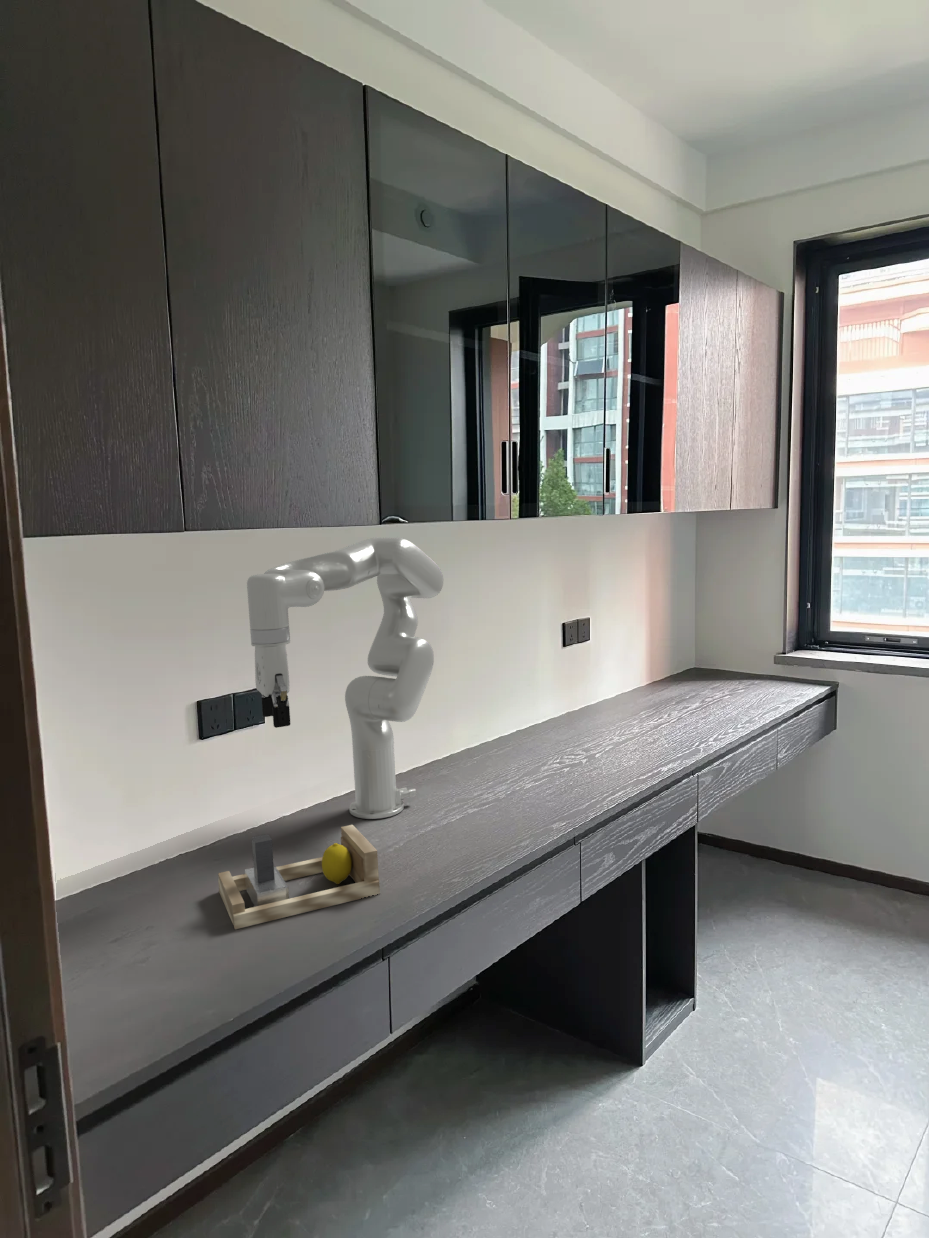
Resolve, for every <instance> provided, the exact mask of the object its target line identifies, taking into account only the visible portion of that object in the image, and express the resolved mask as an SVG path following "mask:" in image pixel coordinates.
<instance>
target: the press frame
mask: <svg viewBox="0 0 929 1238" xmlns="http://www.w3.org/2000/svg"><path fill="white" fill-rule="evenodd" d="M340 834H341V836H340V845H343V846H344V847H346V848H347V850H348V851H349V853H350V856H351V861H352V867H351V872H350V874H349V876H350V877H351V879H352V880H353V881H354V882H355V883H350V884H346V885H341V886H338V887H337V886H336V887H333V888H329V889H325V890H324V889H323V890H320V891H317V892H316V891H315V892H312V893H307V894H304V895H300V896H295V897H289V899H286V900H282V901H277V902H273V903H269V904H265V905H260V906H256V907H254V906H253V907H249V908H246V907H245V905H246V904H245V901H244V899H243V896H242V894H241V893H240V892H241V891H245V890H246V882H245V873H244V874H237V875H233V876H232V873H231V872H230V870H226V871H222V872H218V874H217V876H218V880H217V883H218V892H219V894H220V898H221V900H222V902H223V904H224V907H225V909H226V912H227V913H228V916H229V918H230V921H231V923H232V925H233V927H234V928H233V929H234V930H238V929H243V928H247V927H250V926H255V925H259V924H262V923H266V922H268V923H269V922H272V921H275V920H279V919H284V918H286V917H288V918H289V917H291V916H292V917H293V916H295V915H300V914H304V913H307V912H311V911H312V912H313V911H315V910H321V909H323V908H327V907H328V908H329V907H333V906H336V905H340V904H345V903H348V902H352V901H356V900H357V901H358V900H360V899H361V898H362V899H365V898H364V897H366V898H369V897H368V896H370V897H373V896H372V895H374V896H377V894H378V895H380V894H381V891H380V890H381V887H380V877H379V858H378V856H379V855H378V850H377V849H376V848H375V846H374V845H373V844H372V843H371V842H370V841H369V840H368V839H367V838H366V837H365V836H364V835H363V834H362V833H361V831H359V830H358V828H357V827H355V825H353V824H349V825H345V826H340ZM322 857H323V856H321V857H320V856H319V857H316V858H311V859H307V860H303V861H297V862H294V863H293V862H292V863H289V864H285V865H284V864H283V865H280V866H279V865H278V866H276V868H277V870H278V871H279V873H280V874H281V876H282V878H283V879H284V881H285V882H287V881H289V880H294V879H298V878H303V877H308V876H313V875H316V874H320V873H323V869H322ZM362 899H361V900H362Z"/></svg>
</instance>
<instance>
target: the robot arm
mask: <svg viewBox="0 0 929 1238" xmlns="http://www.w3.org/2000/svg"><path fill="white" fill-rule="evenodd" d="M374 578H376V584H377V588H378V591H379V595H380V596H381V597H380V598H381V600H382V605H383V615H382V618H381V621H380V624H379V626H378V630H377V632H376V634H375V637H374V638H373V641H372V644H371V647H370V649H369V651H368V655H367V665H368V668H369V669H370V670H371V672H373V673H375V674H377V675H381V676H374V675H363V676H357V677H355V678H354V679H352V680H351V681H350V682H349V683H348V685H347V686H346V688H345V692H344V693H345V694H344V702H345V707H346V711H347V715H348V718H349V719H348V720H349V724H350V729H351V741H352V743H351V744H352V758H353V759H352V761H353V762H352V763H353V777H354V780H353V781H354V793H355V797H354V798H355V800H354V801H353V802H351V803H350V805H349V813H350V815H352V816H353V817H356V818H357V819H358V818H359V819H366V820H378V819H385V818H390V817H393V816H395V815H398V814H399V813H400V812H402V811H403V810H404V805H405V803H404V800H405V799H406V798H409V799H410V798H414V797H417V789H416V788H409V789H408V787H406V786H405V787H401V788H398V786H397V782H396V778H397V777H396V764H395V763H396V761H395V740H394V739H395V738H394V732H393V729H392V726H391V723H390V722H394V723H395V722H396V723H397V722H398V723H404V722H407V721H410V720H411V719H412V717H414V715H415V714H416V713H417V711H418V709H419V706H420V703H421V700H422V698H423V696H424V693H425V690H426V687H427V685H428V682H429V679H430V677H431V674H432V671H433V667H434V662H435V656H434V649H433V647H432V645H431V644H430V642H429V641H428V640H426V639H425V638H422V637H418V636H415V635H416V632H417V628H418V624H419V620H418V616H417V612H416V610H415V608H414V605H413V603H412V601H411V599H431V598H434V597H436V596H438V595H439V594H440V593H441V591H442V590H443V589H442V588H443V586H444V575H443V572H442V570H441V568H440V566H439V564H437V563H436V562H435V561H434V560H433V559H432V558H431V557H430V556H428V555H427V554H426V553H425V551H423V550H422V549H421V548H420V547H418V546H417V545H416V544H414V543H413V542H412V541H410V540H408V539H406V538H404V537H373V538H367V539H364V540H361V541H359V542H356V543H353V544H351V545H348V546H346V547H343V548H339V549H336V550H333V551H330V552H326V553H325V552H324V553H320V554H317V555H313V556H309V557H305V558H300V559H297V560H293V561H292V560H291V561H288V562H286V563H283V564H280V565H278V566H275V567H274V566H273V567H272V568H270V569H268V570H267V571H265V572H264V573H257V574H253V575H251V576H249V577H248V578H247V580H246V581H247V582H246V592H247V604H248V617H249V630H250V631H249V632H250V645H251V646H252V647H254V674H255V675H254V676H255V680H254V681H255V688H256V690H257V691H258V692H259V693H260V694H261V699H260V700H261V709H262V716H263V718H268V717H272V720H273V728H282V727H289V726H291V711H290V702H289V696H288V694H289V692H290V675H289V673H290V672H289V665H288V664H289V662H288V661H289V660H288V654H287V647H286V645H289V644H290V643H291V636H290V635H291V634H290V621H289V608H295V607H296V608H307V607H312V606H313V605H316V604H317V603H318V602H320V600H321V599H322V598H323V596H324V593H325V592H327V591H328V592H329V591H330V592H332V591H339V590H346V589H349V588H350V589H351V588H352V587H354V586H356V585H359V584H361V583H363V582H366V581H368V580H371V579H374ZM385 676H388V677H385ZM390 677H391V678H390ZM393 677H396V678H393Z"/></svg>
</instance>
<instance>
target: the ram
mask: <svg viewBox="0 0 929 1238" xmlns="http://www.w3.org/2000/svg"><path fill="white" fill-rule="evenodd" d="M251 847H252V850H251V851H252V863H253V867H251V868H246V869H244V874H245V882H246V893H247V895H248V897H249V899H250V901H251V903H252V905H253V907H256V906H260V905H265V904H269V903H273V902H277V901H282V900H286V899H290V893H289V891H290V890H289V886H288V884H287V881H284V879H283V878H282V876H281V874H280V873H279V871H278V870H277V868H276V867H277V866H275V864H274V851H273V839H272V838H271V836H270V835H269V834H268V833H267V834H262V835H256V836H252V837H251Z"/></svg>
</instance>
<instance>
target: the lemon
mask: <svg viewBox="0 0 929 1238" xmlns="http://www.w3.org/2000/svg"><path fill="white" fill-rule="evenodd" d="M321 857H322V869H323V872H322V873H323V876H325V878H326V879H327V880H328V881H330V882H332V883H335V884H336V885H340V884H341V883H342V882H343V881H345V880H346V879H347V878H348V877H349V876H350V875H349V874H350V872H351V867H352V861H351V856H350V853H349V851H348V850H347V848H346V847H344V846H343V845H341V843H340V844H339V843H337V842H335V843H333V844H331V845H329V846H328V847H327V848H326V849H325V850H324V852H323V854H322V856H321Z"/></svg>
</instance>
